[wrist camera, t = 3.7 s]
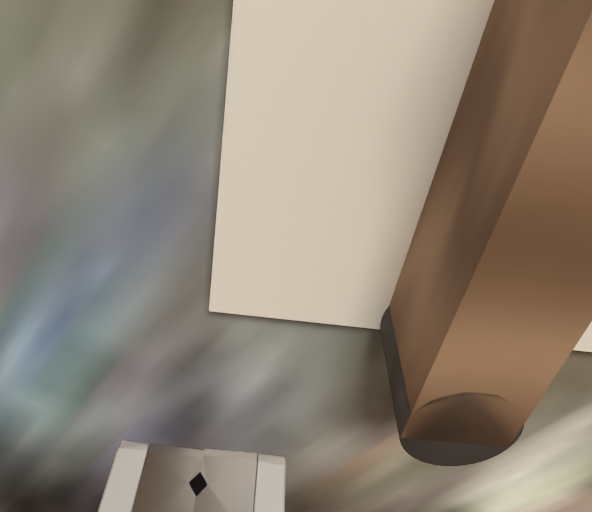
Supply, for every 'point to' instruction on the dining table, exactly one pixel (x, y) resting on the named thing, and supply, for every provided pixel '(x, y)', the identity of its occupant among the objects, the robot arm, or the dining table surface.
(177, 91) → the dining table surface
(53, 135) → the dining table surface
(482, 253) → the leg
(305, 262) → the wall mounted roll holder
